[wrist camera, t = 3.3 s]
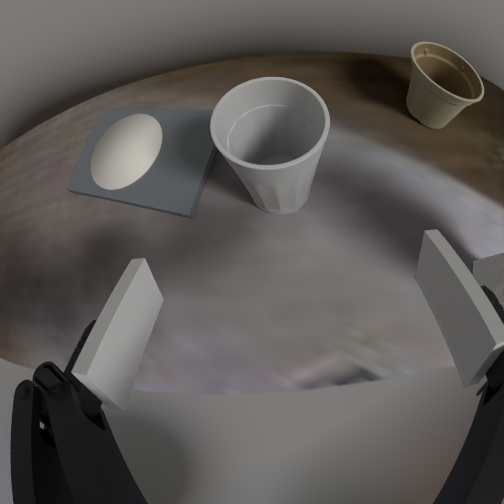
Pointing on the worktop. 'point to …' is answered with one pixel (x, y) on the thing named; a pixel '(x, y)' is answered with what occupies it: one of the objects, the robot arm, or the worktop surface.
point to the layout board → (148, 159)
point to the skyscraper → (491, 274)
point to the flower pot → (440, 84)
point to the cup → (272, 139)
